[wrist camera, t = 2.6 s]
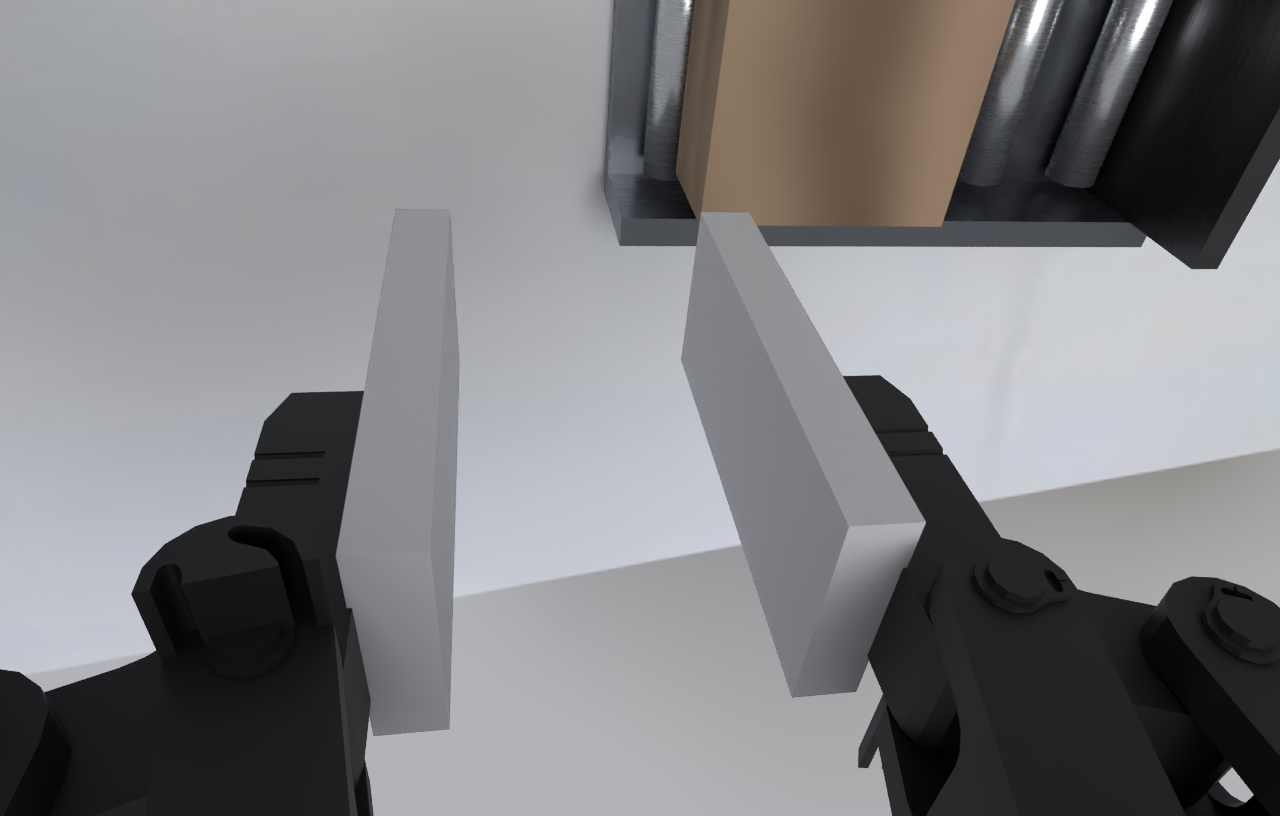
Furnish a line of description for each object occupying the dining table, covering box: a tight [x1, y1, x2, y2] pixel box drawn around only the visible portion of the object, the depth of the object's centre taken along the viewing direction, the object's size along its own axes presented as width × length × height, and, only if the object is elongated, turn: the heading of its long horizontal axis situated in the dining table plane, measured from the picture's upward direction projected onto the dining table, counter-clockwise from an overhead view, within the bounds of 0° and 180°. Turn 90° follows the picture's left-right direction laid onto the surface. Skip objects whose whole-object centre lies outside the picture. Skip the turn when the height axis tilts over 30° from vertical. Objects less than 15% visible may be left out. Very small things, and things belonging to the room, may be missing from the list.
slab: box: [675, 0, 1016, 227], centre depth 25 cm, size 8×9×4 cm
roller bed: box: [604, 0, 1280, 269], centre depth 27 cm, size 20×13×8 cm, turn 86°
